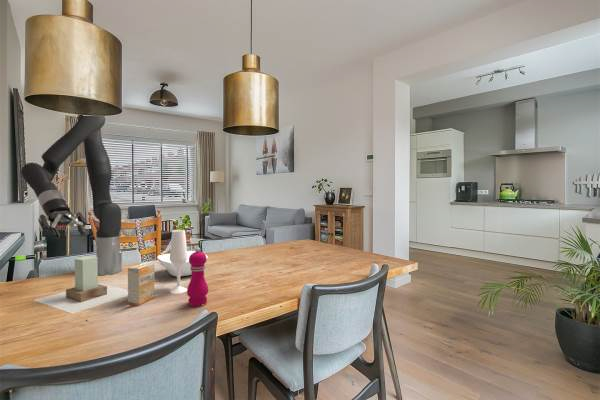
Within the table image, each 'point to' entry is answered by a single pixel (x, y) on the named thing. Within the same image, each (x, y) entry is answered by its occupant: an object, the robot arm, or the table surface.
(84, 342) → the table surface
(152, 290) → the supplement box
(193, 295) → the pepper mill
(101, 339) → the table surface
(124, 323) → the table surface
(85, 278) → the sage block
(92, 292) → the walnut plinth
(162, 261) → the bowl
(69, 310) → the grey board
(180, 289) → the champagne flute
